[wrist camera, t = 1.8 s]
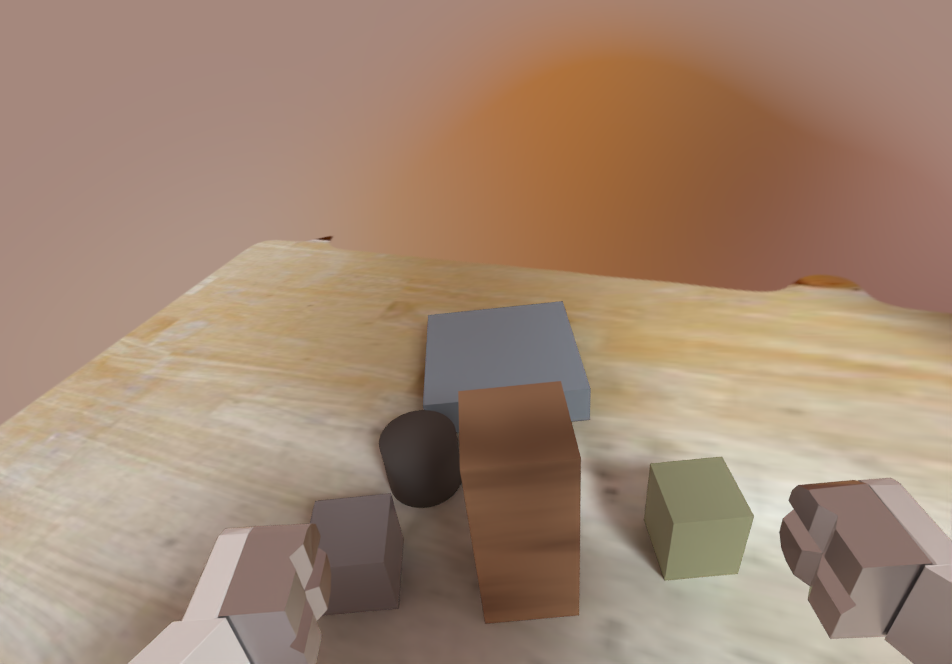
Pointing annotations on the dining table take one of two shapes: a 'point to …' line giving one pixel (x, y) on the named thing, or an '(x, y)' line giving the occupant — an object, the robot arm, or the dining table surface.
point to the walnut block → (522, 499)
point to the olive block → (696, 518)
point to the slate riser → (502, 355)
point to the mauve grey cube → (361, 552)
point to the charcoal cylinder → (421, 458)
